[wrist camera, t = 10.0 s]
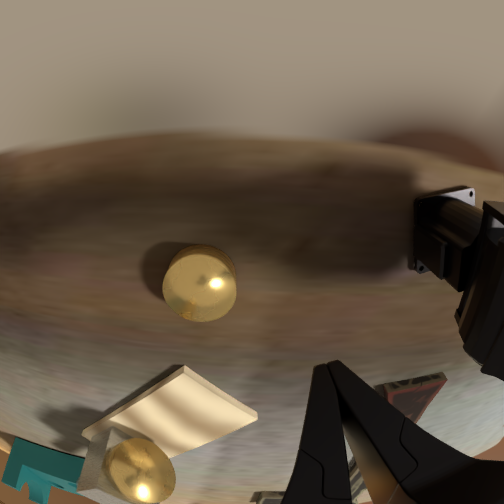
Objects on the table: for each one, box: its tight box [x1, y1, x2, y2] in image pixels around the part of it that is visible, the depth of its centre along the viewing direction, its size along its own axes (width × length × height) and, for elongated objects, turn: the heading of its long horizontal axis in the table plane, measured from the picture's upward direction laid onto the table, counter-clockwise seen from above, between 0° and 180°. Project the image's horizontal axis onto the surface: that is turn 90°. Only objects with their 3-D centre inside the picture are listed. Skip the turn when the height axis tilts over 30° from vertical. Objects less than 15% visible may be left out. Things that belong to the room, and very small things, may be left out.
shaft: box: [76, 438, 176, 504], centre depth 27 cm, size 17×8×8 cm, turn 131°
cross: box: [256, 372, 447, 504], centre depth 38 cm, size 35×2×45 cm
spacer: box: [163, 244, 236, 322], centre depth 21 cm, size 5×5×2 cm
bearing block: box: [76, 426, 160, 504], centre depth 26 cm, size 6×8×9 cm
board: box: [82, 365, 258, 458], centre depth 29 cm, size 22×10×1 cm, turn 131°
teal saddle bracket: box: [2, 437, 85, 504], centre depth 32 cm, size 18×11×10 cm, turn 89°
